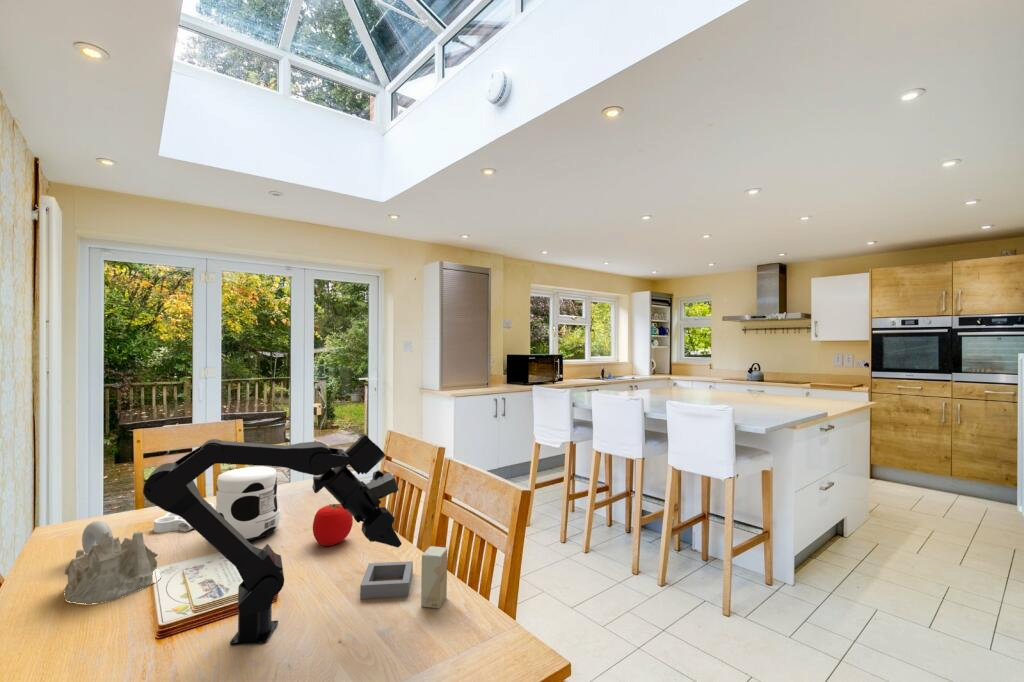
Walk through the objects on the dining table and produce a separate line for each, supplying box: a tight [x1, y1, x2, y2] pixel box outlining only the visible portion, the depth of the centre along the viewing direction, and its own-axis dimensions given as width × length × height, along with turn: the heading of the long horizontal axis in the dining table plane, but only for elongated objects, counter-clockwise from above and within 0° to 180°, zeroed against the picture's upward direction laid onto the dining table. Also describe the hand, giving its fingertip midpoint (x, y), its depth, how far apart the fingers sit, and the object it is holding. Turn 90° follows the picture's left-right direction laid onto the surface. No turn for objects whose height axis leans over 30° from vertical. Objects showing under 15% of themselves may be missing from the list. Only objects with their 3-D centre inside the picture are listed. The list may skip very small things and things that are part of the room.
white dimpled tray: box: [153, 502, 216, 534], centre depth 147 cm, size 3×18×15 cm
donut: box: [81, 520, 114, 554], centre depth 121 cm, size 10×4×10 cm, turn 66°
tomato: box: [312, 503, 354, 547], centre depth 133 cm, size 10×11×11 cm
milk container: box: [215, 466, 281, 542], centre depth 138 cm, size 17×17×18 cm
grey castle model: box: [63, 530, 159, 604], centre depth 108 cm, size 16×16×15 cm
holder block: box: [359, 560, 414, 600], centre depth 110 cm, size 10×10×3 cm
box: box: [420, 545, 448, 609], centre depth 103 cm, size 5×4×11 cm
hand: (394, 537), depth 104 cm, fingers open, 9 cm apart
